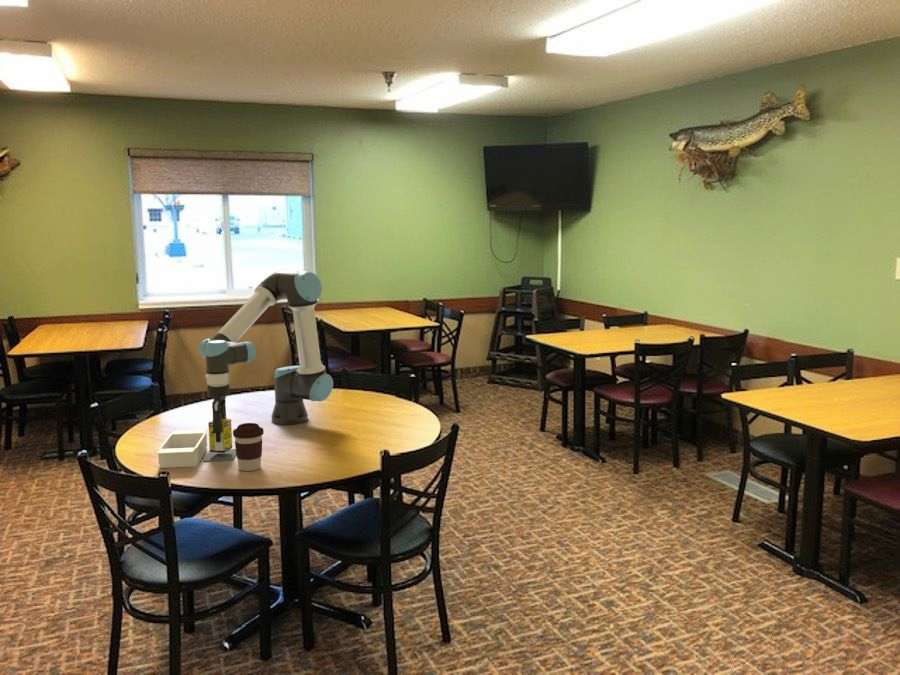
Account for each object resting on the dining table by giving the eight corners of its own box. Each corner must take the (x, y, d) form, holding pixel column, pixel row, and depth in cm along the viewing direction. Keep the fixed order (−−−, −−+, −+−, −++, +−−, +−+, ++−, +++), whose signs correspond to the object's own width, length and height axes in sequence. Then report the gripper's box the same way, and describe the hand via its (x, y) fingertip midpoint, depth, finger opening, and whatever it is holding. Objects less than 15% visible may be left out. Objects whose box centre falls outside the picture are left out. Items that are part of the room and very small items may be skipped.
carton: (209, 446, 260) (208, 429, 259) (195, 470, 234) (194, 451, 233) (173, 447, 258) (172, 430, 257) (156, 471, 232) (155, 453, 231)
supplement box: (224, 453, 245) (223, 423, 243) (209, 452, 246) (207, 422, 244) (232, 448, 251) (231, 418, 249) (217, 447, 252) (216, 417, 250)
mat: (237, 450, 255) (237, 448, 255) (233, 460, 244) (233, 459, 244) (209, 451, 254) (209, 450, 254) (203, 461, 242) (203, 460, 242)
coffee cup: (237, 463, 240) (236, 421, 238) (267, 463, 241) (265, 421, 239) (231, 473, 231) (229, 429, 228) (261, 472, 232) (260, 429, 229)
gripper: (211, 378, 254) (214, 439, 257) (201, 391, 234) (205, 456, 238) (233, 378, 255) (235, 438, 259) (224, 390, 235) (227, 455, 239)
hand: (220, 446), depth 248 cm, fingers closed on supplement box, 7 cm apart
